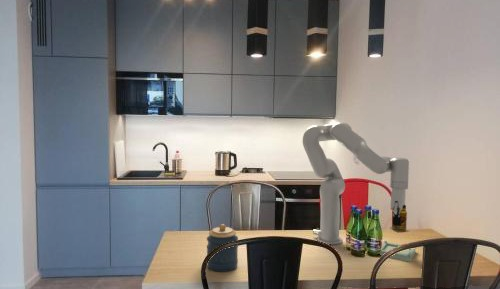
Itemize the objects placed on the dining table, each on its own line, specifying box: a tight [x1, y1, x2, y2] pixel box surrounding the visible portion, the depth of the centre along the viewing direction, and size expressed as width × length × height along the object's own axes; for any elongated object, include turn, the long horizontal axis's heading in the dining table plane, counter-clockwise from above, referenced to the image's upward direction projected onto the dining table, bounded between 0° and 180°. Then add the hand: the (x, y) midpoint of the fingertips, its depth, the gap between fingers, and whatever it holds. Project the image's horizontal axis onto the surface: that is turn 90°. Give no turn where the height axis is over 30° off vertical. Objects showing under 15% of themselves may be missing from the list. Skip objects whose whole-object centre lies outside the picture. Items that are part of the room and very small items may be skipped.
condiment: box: [385, 204, 410, 234], centre depth 161 cm, size 7×8×12 cm
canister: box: [206, 223, 239, 273], centre depth 145 cm, size 13×13×18 cm
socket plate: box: [379, 240, 416, 262], centre depth 162 cm, size 14×14×3 cm
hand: (397, 223), depth 161 cm, fingers closed on condiment, 6 cm apart
